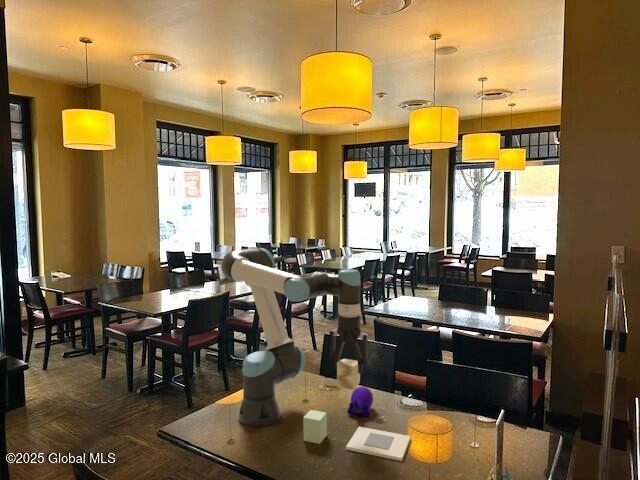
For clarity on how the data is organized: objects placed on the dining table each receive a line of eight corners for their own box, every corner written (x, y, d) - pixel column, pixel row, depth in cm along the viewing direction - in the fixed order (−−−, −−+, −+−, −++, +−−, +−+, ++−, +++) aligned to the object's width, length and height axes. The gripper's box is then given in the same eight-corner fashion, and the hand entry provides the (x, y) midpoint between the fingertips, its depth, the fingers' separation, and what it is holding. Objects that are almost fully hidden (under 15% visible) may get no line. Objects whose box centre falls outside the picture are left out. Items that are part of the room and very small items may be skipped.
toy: (368, 426, 159) (375, 404, 173) (367, 401, 157) (375, 381, 172) (344, 422, 162) (353, 401, 176) (344, 398, 160) (353, 378, 174)
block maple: (337, 386, 151) (337, 364, 150) (343, 380, 157) (343, 358, 156) (354, 389, 149) (354, 366, 148) (359, 383, 154) (359, 360, 154)
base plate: (346, 449, 142) (346, 445, 141) (358, 429, 154) (358, 425, 154) (401, 461, 135) (401, 457, 135) (410, 439, 148) (410, 435, 148)
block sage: (303, 440, 147) (303, 417, 147) (310, 432, 153) (310, 409, 152) (320, 444, 145) (320, 420, 144) (326, 435, 150) (326, 412, 150)
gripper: (319, 314, 151) (319, 380, 153) (373, 320, 144) (372, 389, 146) (327, 309, 158) (326, 372, 160) (378, 315, 151) (378, 380, 153)
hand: (348, 380), depth 153 cm, fingers closed on block maple, 6 cm apart
